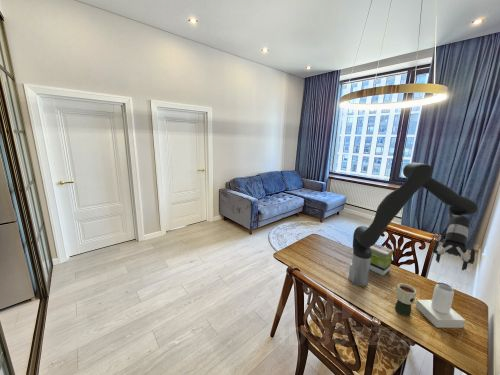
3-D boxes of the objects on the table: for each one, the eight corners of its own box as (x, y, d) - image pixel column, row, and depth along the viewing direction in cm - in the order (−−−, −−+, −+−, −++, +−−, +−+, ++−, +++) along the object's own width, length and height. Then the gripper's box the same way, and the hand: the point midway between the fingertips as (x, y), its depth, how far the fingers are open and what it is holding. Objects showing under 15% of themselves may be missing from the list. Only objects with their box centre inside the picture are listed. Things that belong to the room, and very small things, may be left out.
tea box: (358, 265, 140) (361, 244, 137) (365, 260, 146) (368, 240, 143) (383, 276, 129) (387, 254, 125) (390, 270, 135) (393, 249, 131)
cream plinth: (436, 327, 93) (438, 319, 93) (415, 306, 105) (417, 299, 104) (463, 327, 93) (465, 320, 93) (439, 306, 105) (441, 300, 104)
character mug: (408, 322, 96) (413, 297, 93) (390, 313, 101) (394, 289, 98) (414, 310, 103) (418, 286, 100) (396, 302, 108) (400, 279, 105)
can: (452, 315, 95) (458, 292, 92) (436, 313, 96) (441, 290, 94) (443, 305, 101) (448, 282, 98) (427, 302, 102) (432, 281, 100)
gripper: (438, 228, 107) (430, 257, 102) (479, 237, 97) (473, 269, 92) (437, 234, 112) (430, 262, 106) (476, 243, 102) (470, 275, 96)
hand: (450, 265), depth 99 cm, fingers open, 8 cm apart
